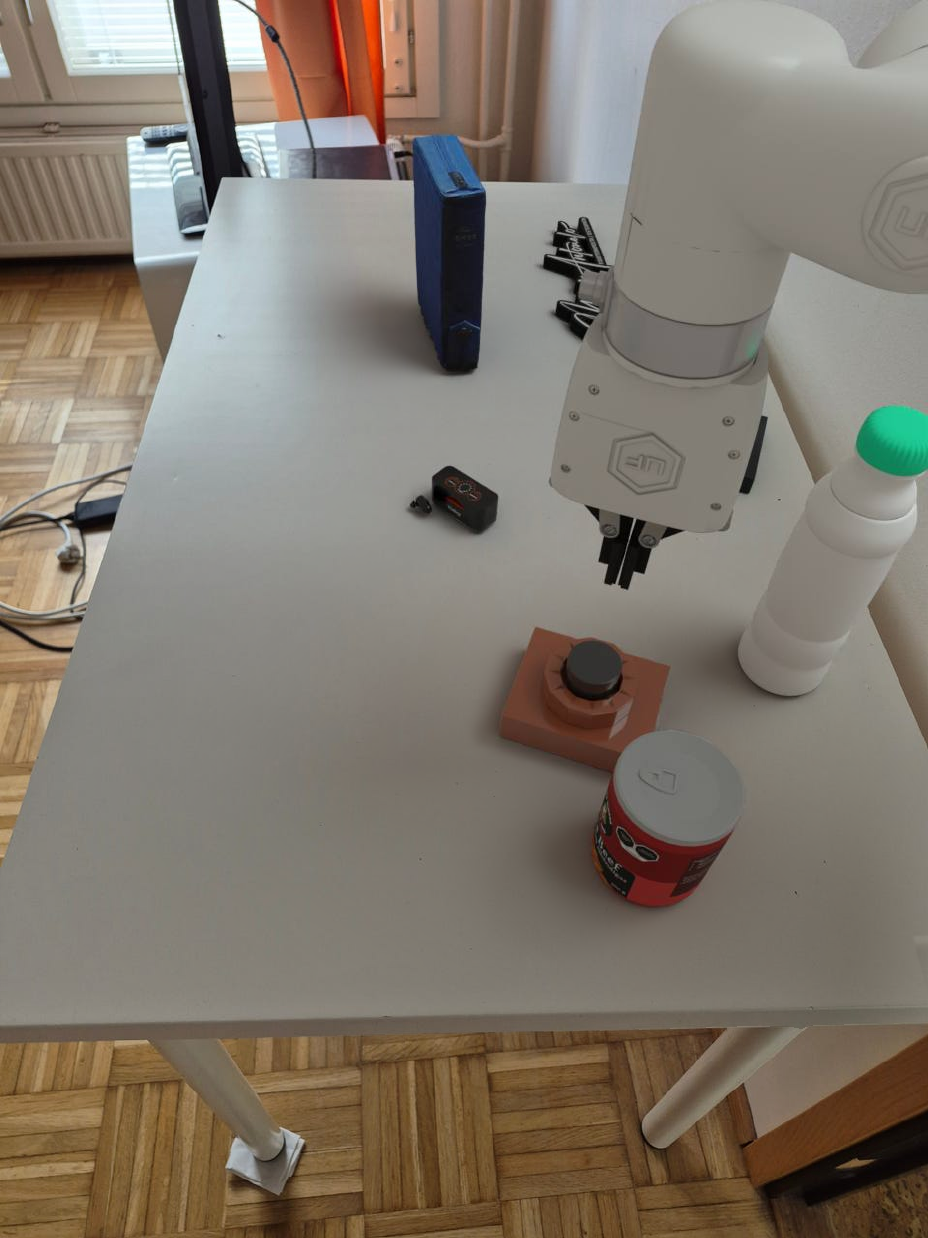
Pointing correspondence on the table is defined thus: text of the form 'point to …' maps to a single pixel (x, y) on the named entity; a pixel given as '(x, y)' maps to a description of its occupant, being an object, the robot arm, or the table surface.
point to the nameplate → (576, 270)
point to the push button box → (580, 704)
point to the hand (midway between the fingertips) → (620, 571)
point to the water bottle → (838, 554)
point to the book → (449, 248)
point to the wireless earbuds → (461, 499)
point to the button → (593, 670)
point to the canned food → (665, 817)
